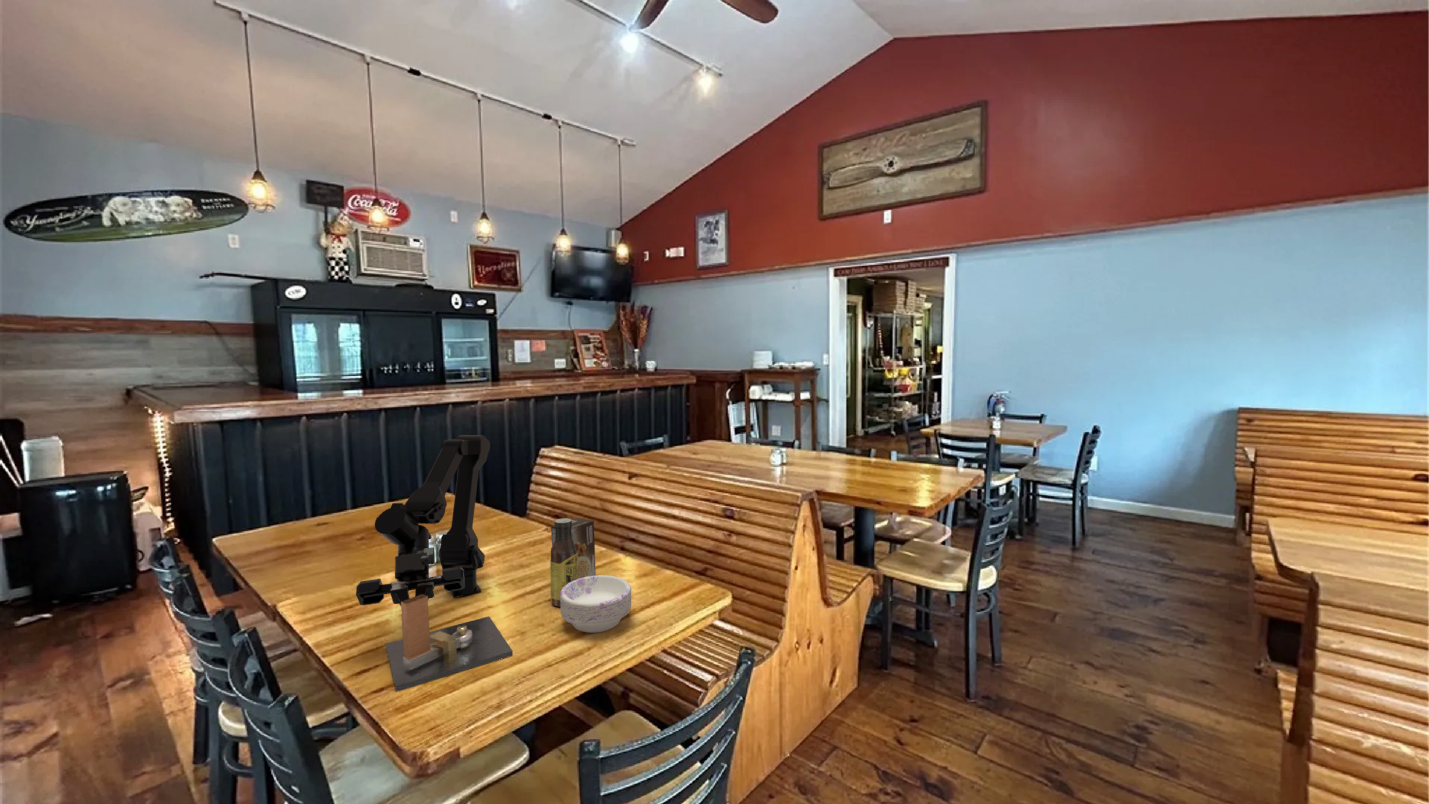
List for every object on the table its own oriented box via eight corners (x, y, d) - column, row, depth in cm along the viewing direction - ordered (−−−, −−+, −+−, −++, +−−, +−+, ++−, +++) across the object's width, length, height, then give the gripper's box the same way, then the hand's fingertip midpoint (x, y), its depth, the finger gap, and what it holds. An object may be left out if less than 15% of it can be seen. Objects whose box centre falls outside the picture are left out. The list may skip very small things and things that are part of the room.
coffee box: (578, 575, 151) (577, 516, 149) (596, 580, 147) (595, 520, 146) (552, 587, 143) (550, 525, 141) (570, 593, 139) (568, 529, 138)
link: (465, 636, 115) (462, 577, 114) (476, 641, 113) (473, 581, 112) (402, 665, 104) (398, 600, 103) (412, 671, 103) (408, 605, 101)
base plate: (385, 648, 114) (385, 643, 114) (489, 620, 125) (489, 616, 125) (396, 691, 99) (396, 686, 99) (512, 655, 111) (512, 650, 110)
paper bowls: (618, 643, 115) (617, 605, 115) (548, 637, 118) (547, 600, 117) (640, 609, 130) (640, 576, 129) (578, 605, 133) (577, 572, 132)
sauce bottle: (571, 609, 130) (568, 525, 129) (546, 607, 132) (543, 524, 130) (583, 597, 137) (580, 517, 135) (559, 595, 138) (556, 516, 136)
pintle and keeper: (471, 645, 114) (470, 621, 114) (465, 665, 107) (464, 640, 107) (434, 650, 113) (432, 626, 112) (425, 671, 105) (424, 645, 105)
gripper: (353, 541, 107) (347, 623, 98) (461, 528, 115) (463, 602, 106) (363, 566, 115) (358, 644, 106) (463, 552, 123) (466, 623, 114)
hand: (412, 628), depth 108 cm, fingers closed
